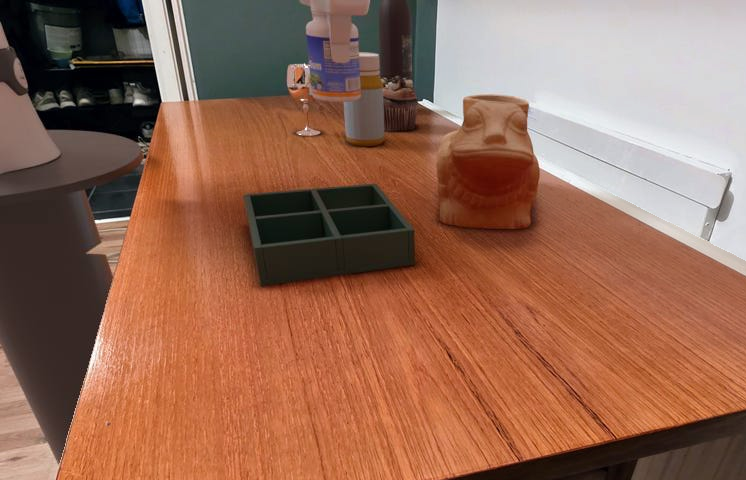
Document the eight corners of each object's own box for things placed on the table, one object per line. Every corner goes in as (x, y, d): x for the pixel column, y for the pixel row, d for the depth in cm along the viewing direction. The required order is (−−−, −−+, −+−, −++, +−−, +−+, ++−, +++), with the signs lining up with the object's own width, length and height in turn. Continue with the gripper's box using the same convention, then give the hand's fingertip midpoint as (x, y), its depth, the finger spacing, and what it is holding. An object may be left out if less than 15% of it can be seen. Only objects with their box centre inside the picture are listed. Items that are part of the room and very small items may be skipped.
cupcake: (428, 127, 115) (428, 76, 110) (397, 134, 108) (396, 80, 103) (393, 119, 119) (392, 70, 114) (362, 126, 112) (359, 74, 107)
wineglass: (329, 131, 107) (323, 65, 101) (314, 137, 102) (307, 68, 96) (302, 128, 108) (295, 62, 102) (287, 134, 103) (278, 66, 97)
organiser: (260, 286, 53) (254, 248, 51) (249, 227, 65) (243, 194, 63) (415, 264, 59) (414, 229, 57) (377, 214, 71) (376, 183, 69)
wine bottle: (406, 114, 124) (403, -41, 109) (377, 111, 125) (370, -43, 110) (416, 109, 130) (415, -40, 115) (388, 106, 131) (384, -41, 116)
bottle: (391, 144, 102) (389, 56, 94) (358, 148, 97) (353, 57, 90) (372, 135, 106) (367, 51, 98) (339, 140, 102) (332, 52, 94)
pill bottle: (308, 94, 62) (298, -4, 57) (355, 93, 64) (349, -2, 59) (316, 103, 58) (306, -2, 53) (367, 102, 60) (361, 1, 55)
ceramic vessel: (427, 240, 65) (428, 108, 57) (442, 174, 87) (444, 73, 79) (543, 246, 65) (560, 115, 57) (528, 179, 87) (539, 78, 80)
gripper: (274, -95, 59) (290, 46, 66) (303, -118, 43) (320, 71, 50) (333, -89, 61) (342, 47, 68) (381, -108, 45) (387, 71, 52)
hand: (333, 58), depth 59 cm, fingers closed on pill bottle, 5 cm apart
